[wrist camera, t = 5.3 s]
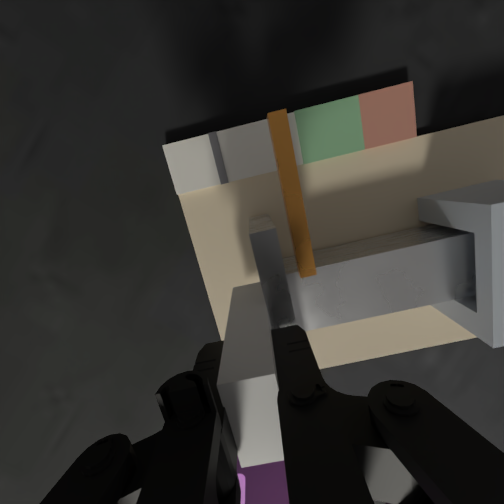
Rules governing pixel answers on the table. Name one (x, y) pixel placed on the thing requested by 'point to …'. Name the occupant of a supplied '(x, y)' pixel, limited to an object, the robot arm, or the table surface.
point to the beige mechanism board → (352, 209)
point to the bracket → (263, 483)
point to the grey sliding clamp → (352, 261)
